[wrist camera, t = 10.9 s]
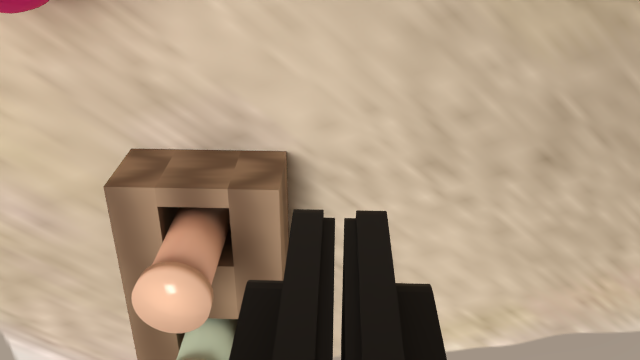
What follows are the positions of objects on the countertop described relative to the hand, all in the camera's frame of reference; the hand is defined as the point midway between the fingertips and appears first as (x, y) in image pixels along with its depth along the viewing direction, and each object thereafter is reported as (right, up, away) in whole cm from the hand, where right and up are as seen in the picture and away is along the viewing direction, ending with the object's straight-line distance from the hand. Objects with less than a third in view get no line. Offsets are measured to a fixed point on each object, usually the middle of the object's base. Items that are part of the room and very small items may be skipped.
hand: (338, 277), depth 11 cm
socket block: (-9, -4, +39) cm, 40 cm away
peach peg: (-9, -1, +34) cm, 35 cm away
